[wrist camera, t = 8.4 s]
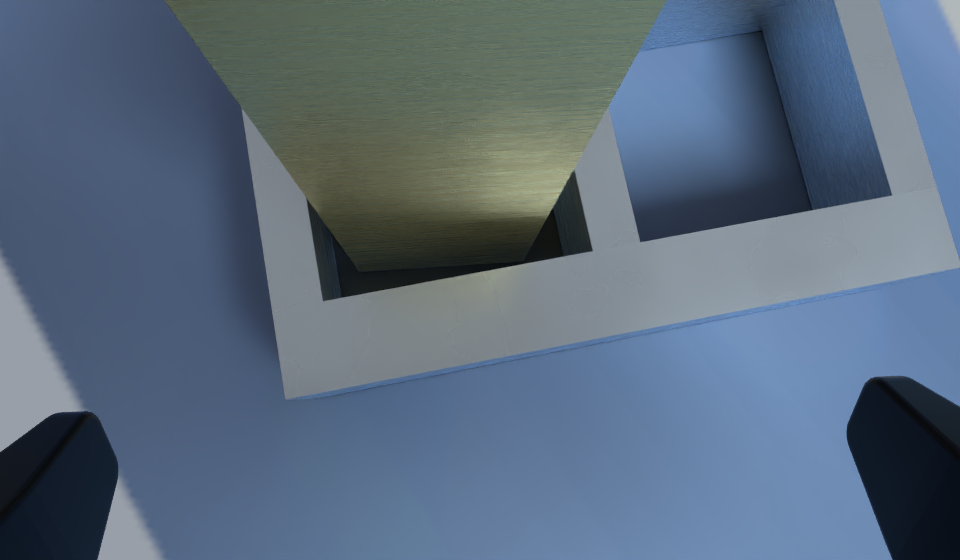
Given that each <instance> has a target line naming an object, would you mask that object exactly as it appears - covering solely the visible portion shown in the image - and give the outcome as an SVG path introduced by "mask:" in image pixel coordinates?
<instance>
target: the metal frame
mask: <svg viewBox="0 0 960 560" xmlns="http://www.w3.org/2000/svg"><path fill="white" fill-rule="evenodd" d="M756 31H762V32H763V36H764V39H765V43H766V46H767V50H768V54H769V57H770V61H771V64H772V68H773V71H774V75H775V79H776V82H777V86H778V89H779V93H780V97H781V100H782V104H783V107H784V111H785V114H786V118H787V122H788V125H789V129H790V132H791V136H792V140H793V143H794V147H795V150H796V154H797V157H798V161H799V165H800V168H801V172H802V175H803V179H804V182H805V186H806V190H807V193H808V197H809V200H810V204H811V208H812V210H811V211H806V212H801V213H795V214H790V215H785V216H779V217H774V218H768V219H763V220H758V221H752V222H747V223H742V224H736V225H731V226H725V227H720V228H715V229H709V230H704V231H699V232H693V233H688V234H682V235H677V236H672V237H666V238H661V239H655V240H650V241H645V242H640V239H639V235H638V230H637V226H636V222H635V218H634V214H633V209H632V205H631V201H630V197H629V193H628V188H627V184H626V180H625V176H624V172H623V167H622V163H621V159H620V155H619V150H618V146H617V142H616V138H615V134H614V129H613V125H612V121H611V117H610V113H609V108H607V110H606V112H605V113H604V115H603V117H602V119H601V121H600V123H599V124H598V126H597V128H596V130H595V132H594V134H593V135H592V137H591V139H590V141H589V143H588V144H587V146H586V148H585V150H584V152H583V154H582V155H581V157H580V159H579V161H578V163H577V164H576V166H575V168H574V170H573V172H572V174H571V175H570V177H569V179H568V181H567V183H566V184H565V186H564V188H563V190H562V192H561V194H560V195H559V197H558V199H557V201H556V203H555V204H554V206H553V210H554V215H555V220H556V224H557V229H558V233H559V238H560V242H561V247H562V252H563V256H564V257H559V258H553V259H548V260H543V261H537V262H532V263H526V264H521V265H516V266H510V267H505V268H499V269H494V270H489V271H483V272H478V273H473V274H467V275H462V276H456V277H451V278H446V279H440V280H435V281H430V282H424V283H419V284H413V285H408V286H403V287H397V288H392V289H387V290H381V291H376V292H370V293H365V294H360V295H354V296H349V297H343V298H342V295H341V289H340V283H339V277H338V271H337V265H336V259H335V253H334V247H333V241H332V235H331V231H330V230H329V228H328V227H327V226H326V224H325V223H324V222H323V220H322V219H321V217H320V216H319V215H318V213H317V212H316V210H315V209H314V208H313V206H312V205H311V203H310V202H309V201H308V199H307V198H306V196H305V195H304V194H303V192H302V191H301V190H300V188H299V187H298V185H297V184H296V183H295V181H294V180H293V178H292V177H291V176H290V174H289V173H288V171H287V170H286V169H285V167H284V166H283V165H282V163H281V162H280V160H279V159H278V158H277V156H276V155H275V153H274V152H273V151H272V149H271V148H270V146H269V145H268V144H267V142H266V141H265V139H264V138H263V137H262V135H261V134H260V133H259V131H258V130H257V128H256V127H255V126H254V124H253V123H252V121H251V120H250V119H249V117H248V116H247V114H246V113H245V112H244V110H243V109H242V114H243V121H244V127H245V134H246V141H247V147H248V154H249V161H250V167H251V174H252V181H253V187H254V194H255V201H256V207H257V214H258V221H259V227H260V234H261V241H262V247H263V254H264V261H265V267H266V274H267V281H268V287H269V294H270V301H271V307H272V314H273V321H274V327H275V334H276V341H277V347H278V354H279V361H280V367H281V374H282V381H283V387H284V394H285V400H291V399H318V398H323V397H328V396H333V395H338V394H343V393H348V392H353V391H358V390H363V389H369V388H374V387H379V386H384V385H389V384H394V383H399V382H404V381H409V380H414V379H419V378H425V377H430V376H435V375H440V374H445V373H450V372H455V371H460V370H465V369H470V368H476V367H481V366H486V365H491V364H496V363H501V362H506V361H511V360H516V359H521V358H526V357H532V356H537V355H542V354H547V353H552V352H557V351H562V350H567V349H572V348H577V347H583V346H588V345H593V344H598V343H603V342H608V341H613V340H618V339H623V338H628V337H633V336H639V335H644V334H649V333H654V332H659V331H664V330H669V329H674V328H679V327H684V326H690V325H695V324H700V323H705V322H710V321H715V320H720V319H725V318H730V317H735V316H740V315H746V314H751V313H756V312H761V311H766V310H771V309H776V308H781V307H786V306H791V305H797V304H802V303H807V302H812V301H817V300H822V299H827V298H832V297H837V296H842V295H847V294H853V293H858V292H863V291H868V290H873V289H877V288H881V287H885V286H889V285H893V284H897V283H901V282H905V281H909V280H913V279H917V278H921V277H925V276H929V275H933V274H937V273H941V272H945V271H949V270H953V269H957V268H960V261H959V257H958V254H957V251H956V248H955V244H954V241H953V238H952V235H951V232H950V228H949V225H948V222H947V219H946V215H945V212H944V209H943V206H942V203H941V199H940V196H939V193H938V190H937V186H936V183H935V180H934V177H933V173H932V170H931V167H930V164H929V161H928V157H927V154H926V151H925V148H924V144H923V141H922V138H921V135H920V132H919V128H918V125H917V122H916V119H915V115H914V112H913V109H912V106H911V103H910V99H909V96H908V93H907V90H906V86H905V83H904V80H903V77H902V73H901V70H900V67H899V64H898V61H897V57H896V54H895V51H894V48H893V44H892V41H891V38H890V35H889V32H888V28H887V25H886V22H885V19H884V15H883V12H882V9H881V6H880V3H879V0H667V1H666V3H665V4H664V6H663V8H662V10H661V12H660V13H659V15H658V17H657V19H656V21H655V23H654V24H653V26H652V28H651V30H650V32H649V33H648V35H647V37H646V39H645V41H644V43H643V44H642V46H641V48H640V50H646V49H652V48H659V47H665V46H671V45H677V44H683V43H689V42H695V41H701V40H707V39H713V38H719V37H725V36H732V35H738V34H744V33H750V32H756ZM640 50H639V51H640Z"/></svg>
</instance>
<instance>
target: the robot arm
mask: <svg viewBox="0 0 960 560" xmlns="http://www.w3.org/2000/svg"><path fill="white" fill-rule="evenodd" d="M847 441H848V445H849V448H850V451H851V453H852V456H853V459H854V461H855V464H856V466H857V469H858V472H859V474H860V477H861V480H862V482H863V485H864V487H865V490H866V493H867V495H868V498H869V501H870V503H871V506H872V509H873V511H874V514H875V516H876V519H877V522H878V524H879V527H880V530H881V532H882V535H883V537H884V540H885V543H886V545H887V547H888V550H889V552H890V555H891V557H892V559H893V560H960V406H958V405H956V404H954V403H953V402H951V401H949V400H947V399H946V398H944V397H942V396H941V395H939V394H937V393H935V392H934V391H932V390H930V389H929V388H927V387H925V386H923V385H922V384H920V383H918V382H916V381H915V380H913V379H911V378H909V377H905V376H884V377H873V378H871V379H869V380H868V381H867V382H866V383H865V384H864V386H863V389H862V391H861V393H860V396H859V398H858V400H857V403H856V405H855V407H854V410H853V412H852V415H851V417H850V419H849V422H848V425H847ZM117 479H118V462H117V458H116V456H115V453H114V451H113V449H112V447H111V444H110V442H109V440H108V438H107V436H106V433H105V431H104V429H103V427H102V424H101V422H100V420H99V419H98V417H97V416H96V415H95V414H94V413H92V412H88V411H83V412H61V413H56V414H53V415H51V416H49V417H48V418H46V419H45V420H43V421H42V422H41V423H39V424H38V425H36V426H35V427H34V428H32V429H31V430H30V431H28V432H27V433H26V434H24V435H23V436H22V437H20V438H19V439H18V440H16V441H15V442H14V443H12V444H11V445H10V446H8V447H7V448H5V449H4V450H3V451H1V452H0V560H97V559H98V555H99V551H100V547H101V543H102V539H103V535H104V531H105V527H106V524H107V520H108V515H109V512H110V508H111V504H112V500H113V496H114V491H115V488H116V484H117Z"/></svg>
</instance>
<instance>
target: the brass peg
mask: <svg viewBox="0 0 960 560" xmlns="http://www.w3.org/2000/svg"><path fill="white" fill-rule="evenodd" d="M666 1H667V0H165V2H166V3H167V5H168V6H169V7H170V9H171V10H172V12H173V13H174V14H175V16H176V17H177V19H178V20H179V21H180V23H181V24H182V25H183V27H184V28H185V30H186V31H187V32H188V34H189V35H190V37H191V38H192V39H193V41H194V42H195V44H196V45H197V46H198V48H199V49H200V50H201V52H202V53H203V55H204V56H205V57H206V59H207V60H208V62H209V63H210V64H211V66H212V67H213V69H214V70H215V71H216V73H217V74H218V76H219V77H220V78H221V80H222V81H223V82H224V84H225V85H226V87H227V88H228V89H229V91H230V92H231V94H232V95H233V96H234V98H235V99H236V101H237V102H238V103H239V105H240V106H241V108H242V109H243V110H244V112H245V113H246V114H247V116H248V117H249V119H250V120H251V121H252V123H253V124H254V126H255V127H256V128H257V130H258V131H259V133H260V134H261V135H262V137H263V138H264V139H265V141H266V142H267V144H268V145H269V146H270V148H271V149H272V151H273V152H274V153H275V155H276V156H277V158H278V159H279V160H280V162H281V163H282V165H283V166H284V167H285V169H286V170H287V171H288V173H289V174H290V176H291V177H292V178H293V180H294V181H295V183H296V184H297V185H298V187H299V188H300V190H301V191H302V192H303V194H304V195H305V196H306V198H307V199H308V201H309V202H310V203H311V205H312V206H313V208H314V209H315V210H316V212H317V213H318V215H319V216H320V217H321V219H322V220H323V222H324V223H325V224H326V226H327V227H328V228H329V230H330V231H331V233H332V234H333V235H334V237H335V238H336V240H337V241H338V242H339V244H340V245H341V247H342V248H343V249H344V251H345V252H346V253H347V255H348V256H349V258H350V259H351V260H352V262H353V263H354V265H355V266H356V267H357V269H358V270H359V272H367V271H382V270H398V269H414V268H429V267H445V266H461V265H476V264H492V263H508V262H523V261H524V259H525V257H526V255H527V254H528V252H529V250H530V248H531V246H532V244H533V243H534V241H535V239H536V237H537V235H538V234H539V232H540V230H541V228H542V226H543V224H544V223H545V221H546V219H547V217H548V215H549V214H550V212H551V210H552V208H553V206H554V204H555V203H556V201H557V199H558V197H559V195H560V194H561V192H562V190H563V188H564V186H565V184H566V183H567V181H568V179H569V177H570V175H571V174H572V172H573V170H574V168H575V166H576V164H577V163H578V161H579V159H580V157H581V155H582V154H583V152H584V150H585V148H586V146H587V144H588V143H589V141H590V139H591V137H592V135H593V134H594V132H595V130H596V128H597V126H598V124H599V123H600V121H601V119H602V117H603V115H604V113H605V112H606V110H607V108H608V106H609V104H610V103H611V101H612V99H613V97H614V95H615V93H616V92H617V90H618V88H619V86H620V84H621V83H622V81H623V79H624V77H625V75H626V73H627V72H628V70H629V68H630V66H631V64H632V63H633V61H634V59H635V57H636V55H637V53H638V52H639V50H640V48H641V46H642V44H643V43H644V41H645V39H646V37H647V35H648V33H649V32H650V30H651V28H652V26H653V24H654V23H655V21H656V19H657V17H658V15H659V13H660V12H661V10H662V8H663V6H664V4H665V3H666Z"/></svg>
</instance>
